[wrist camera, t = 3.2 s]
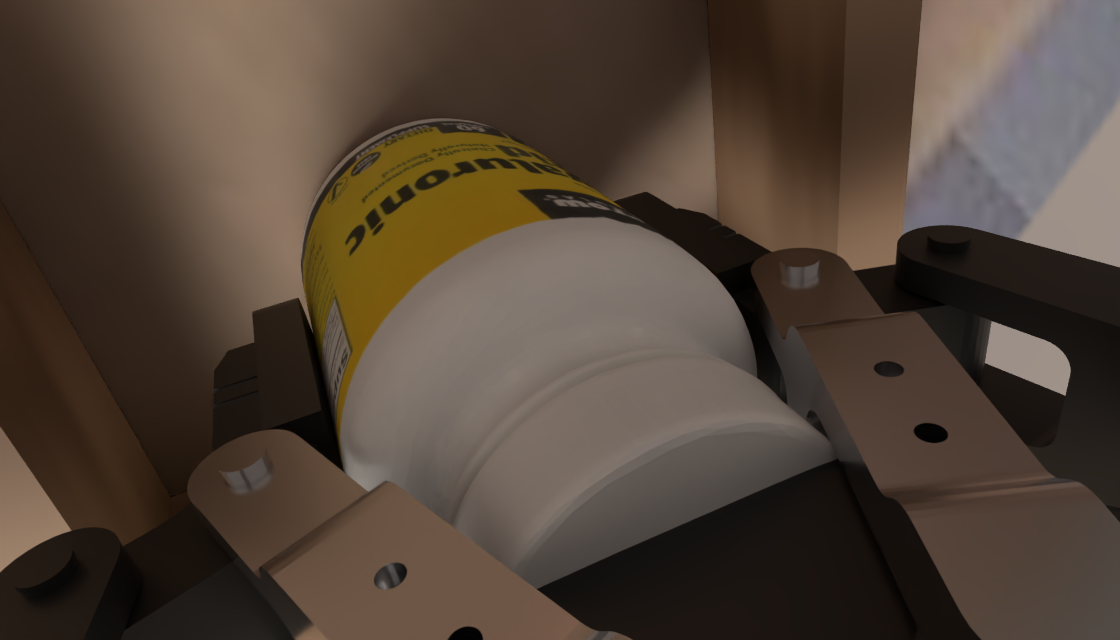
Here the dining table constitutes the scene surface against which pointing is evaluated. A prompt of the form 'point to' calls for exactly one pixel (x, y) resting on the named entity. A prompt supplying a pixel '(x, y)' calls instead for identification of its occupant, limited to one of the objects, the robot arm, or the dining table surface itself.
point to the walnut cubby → (743, 205)
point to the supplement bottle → (531, 352)
